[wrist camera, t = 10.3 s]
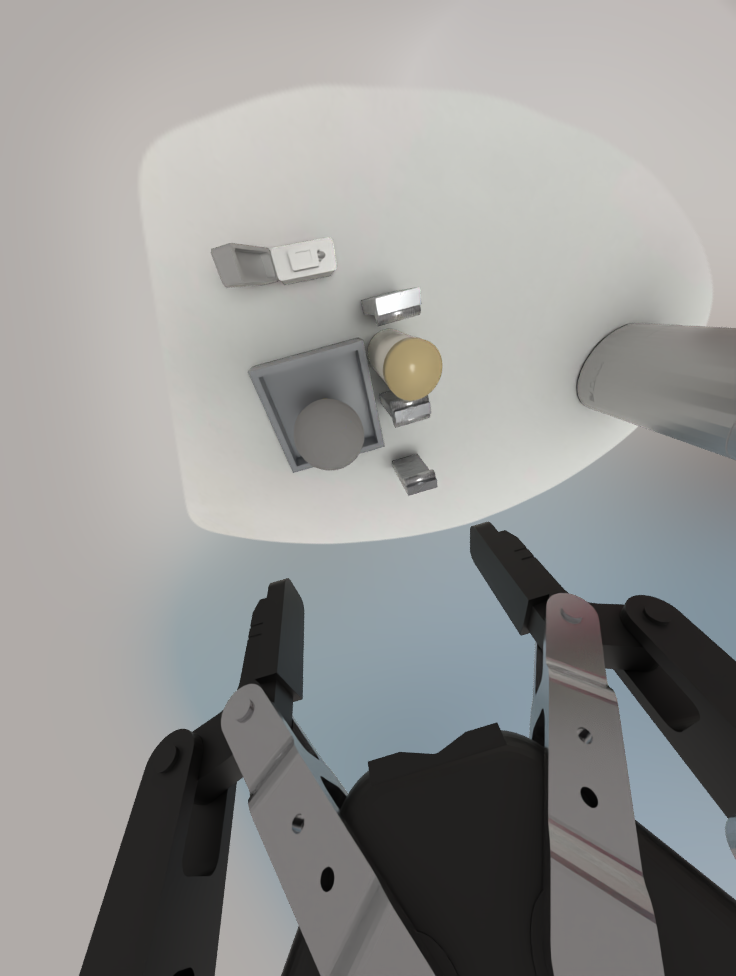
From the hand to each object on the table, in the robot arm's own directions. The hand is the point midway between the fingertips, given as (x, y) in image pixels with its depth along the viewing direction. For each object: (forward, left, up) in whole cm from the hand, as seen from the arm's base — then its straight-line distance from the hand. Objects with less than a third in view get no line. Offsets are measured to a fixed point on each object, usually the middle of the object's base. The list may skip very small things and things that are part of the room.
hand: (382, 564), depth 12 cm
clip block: (-6, 0, -20) cm, 21 cm away
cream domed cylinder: (-6, -4, -21) cm, 22 cm away
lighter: (+1, -12, -21) cm, 24 cm away
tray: (+1, -1, -21) cm, 21 cm away
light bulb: (+1, -1, -20) cm, 20 cm away
